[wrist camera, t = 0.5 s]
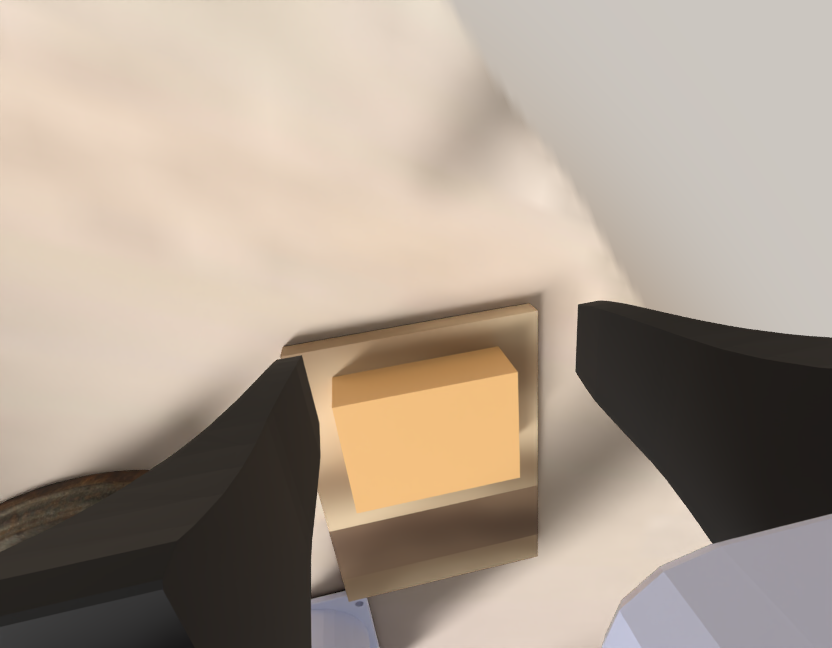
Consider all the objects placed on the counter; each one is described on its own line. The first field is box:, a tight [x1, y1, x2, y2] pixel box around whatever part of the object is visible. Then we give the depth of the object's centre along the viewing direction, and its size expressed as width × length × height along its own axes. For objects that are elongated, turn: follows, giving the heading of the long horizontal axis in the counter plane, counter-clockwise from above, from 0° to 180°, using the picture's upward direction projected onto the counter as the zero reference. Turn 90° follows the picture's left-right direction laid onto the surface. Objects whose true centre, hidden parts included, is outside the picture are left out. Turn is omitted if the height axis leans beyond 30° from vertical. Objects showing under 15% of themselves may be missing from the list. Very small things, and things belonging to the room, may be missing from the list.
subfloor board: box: [281, 303, 538, 602], centre depth 24 cm, size 17×12×1 cm
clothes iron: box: [0, 470, 149, 552], centre depth 19 cm, size 7×11×10 cm, turn 122°
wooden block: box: [332, 346, 520, 513], centre depth 21 cm, size 6×8×2 cm
